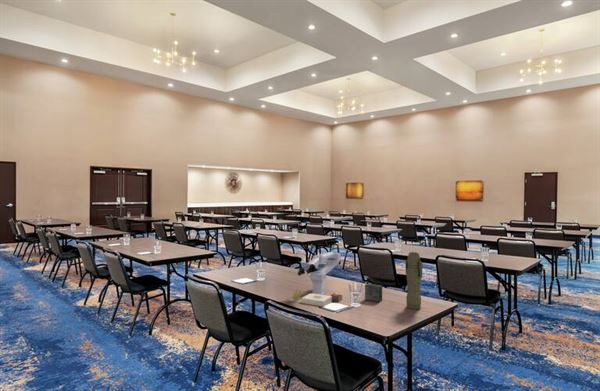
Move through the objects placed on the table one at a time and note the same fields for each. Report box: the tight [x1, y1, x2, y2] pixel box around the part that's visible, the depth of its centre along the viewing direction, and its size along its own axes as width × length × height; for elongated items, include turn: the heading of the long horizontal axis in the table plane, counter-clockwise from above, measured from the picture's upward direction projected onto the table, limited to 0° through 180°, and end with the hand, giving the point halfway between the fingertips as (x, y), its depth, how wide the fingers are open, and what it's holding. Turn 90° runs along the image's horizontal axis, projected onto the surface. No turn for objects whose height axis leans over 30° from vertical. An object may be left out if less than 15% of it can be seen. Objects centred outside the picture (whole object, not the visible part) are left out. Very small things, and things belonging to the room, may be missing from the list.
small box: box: [364, 283, 383, 303], centre depth 247 cm, size 11×6×10 cm, turn 59°
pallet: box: [301, 292, 333, 307], centre depth 241 cm, size 14×16×4 cm
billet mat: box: [288, 297, 303, 303], centre depth 246 cm, size 9×9×1 cm
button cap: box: [332, 292, 340, 297], centre depth 247 cm, size 4×4×2 cm
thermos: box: [405, 251, 423, 310], centre depth 232 cm, size 9×12×35 cm
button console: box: [329, 293, 343, 303], centre depth 247 cm, size 7×7×3 cm
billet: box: [292, 289, 302, 301], centre depth 246 cm, size 4×4×6 cm
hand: (302, 273), depth 243 cm, fingers open, 7 cm apart
